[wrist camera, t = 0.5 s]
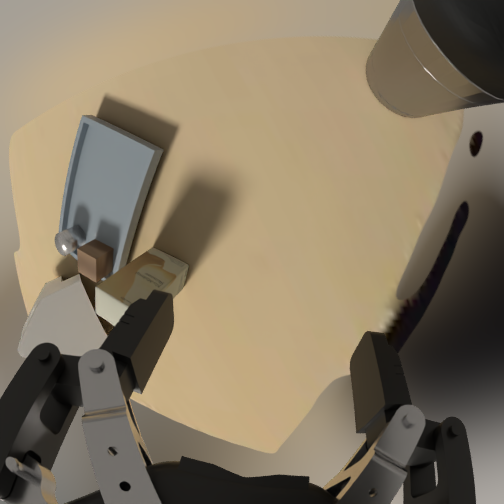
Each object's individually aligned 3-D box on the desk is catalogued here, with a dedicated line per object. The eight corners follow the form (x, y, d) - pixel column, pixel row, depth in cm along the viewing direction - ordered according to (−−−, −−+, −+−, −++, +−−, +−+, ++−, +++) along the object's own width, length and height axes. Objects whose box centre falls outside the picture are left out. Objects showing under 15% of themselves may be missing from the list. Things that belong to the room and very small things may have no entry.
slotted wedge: (78, 268, 48) (10, 300, 38) (80, 280, 39) (0, 319, 30) (103, 325, 52) (40, 356, 43) (113, 346, 44) (39, 383, 34)
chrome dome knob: (73, 221, 37) (55, 229, 33) (87, 231, 37) (69, 240, 33) (70, 239, 38) (54, 247, 35) (84, 250, 38) (67, 260, 35)
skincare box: (190, 263, 36) (140, 314, 25) (183, 289, 38) (137, 341, 27) (150, 245, 37) (93, 285, 26) (146, 270, 39) (94, 314, 28)
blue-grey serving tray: (96, 115, 31) (82, 115, 28) (167, 149, 31) (154, 150, 28) (69, 237, 41) (57, 243, 38) (125, 280, 41) (114, 289, 38)
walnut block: (94, 238, 37) (77, 248, 33) (113, 248, 36) (96, 259, 33) (94, 261, 39) (78, 271, 35) (112, 270, 38) (96, 282, 35)
